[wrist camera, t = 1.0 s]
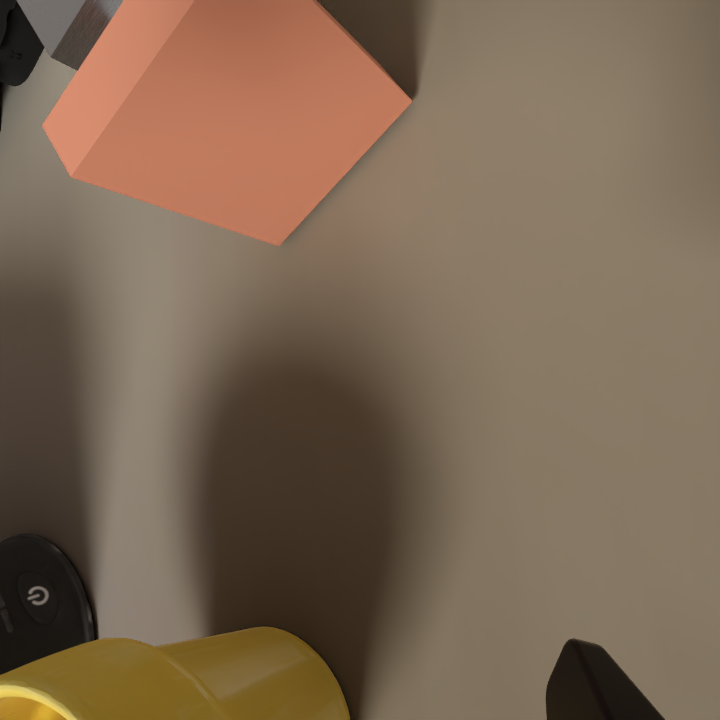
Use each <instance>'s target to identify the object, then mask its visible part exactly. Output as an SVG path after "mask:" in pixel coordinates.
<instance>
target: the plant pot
mask: <svg viewBox="0 0 720 720" xmlns="http://www.w3.org/2000/svg"><path fill="white" fill-rule="evenodd" d="M0 720H350V715H349V710H348V707H347V704H346V701H345V698H344V695H343V693H342V690H341V688H340V686H339V684H338V682H337V680H336V678H335V676H334V675H333V673H332V671H331V670H330V668H329V667H328V665H327V664H326V663H325V662H324V660H323V659H322V658H321V657H320V655H319V654H318V653H316V652H315V651H314V650H313V649H312V648H311V647H310V646H309V645H308V644H307V643H305V642H304V641H303V640H301V639H300V638H298V637H297V636H295V635H293V634H291V633H289V632H287V631H284V630H281V629H278V628H273V627H255V628H249V629H244V630H239V631H234V632H230V633H225V634H219V635H214V636H209V637H203V638H198V639H193V640H187V641H182V642H176V643H171V644H165V645H160V646H151V645H149V644H146V643H143V642H141V641H136V640H132V639H127V638H105V639H98V640H94V641H91V642H87V643H84V644H81V645H78V646H75V647H72V648H69V649H66V650H63V651H60V652H57V653H55V654H52V655H49V656H47V657H44V658H41V659H39V660H36V661H33V662H31V663H28V664H26V665H24V666H21V667H19V668H16V669H14V670H12V671H9V672H7V673H4V674H2V675H0Z"/></svg>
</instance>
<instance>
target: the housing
mask: <svg viewBox="0 0 720 720" xmlns="http://www.w3.org/2000/svg"><path fill="white" fill-rule="evenodd" d="M123 1H124V0H17V2H18V4H19V5H20V7H21V9H22V10H23V12H24V14H25V15H26V17H27V19H28V20H29V22H30V24H31V25H32V27H33V29H34V30H35V32H36V34H37V35H38V37H39V39H40V40H41V42H42V44H43V45H44V47H45V49H46V50H47V52H48V54H49V55H50V57H51V58H53V59H55V60H57V61H59V62H61V63H63V64H65V65H67V66H69V67H71V68H73V69H75V70H77V71H78V70H79V68H80V67H81V65H82V63H83V62H84V60H85V59H86V57H87V56H88V54H89V53H90V51H91V50H92V48H93V47H94V45H95V44H96V42H97V40H98V39H99V37H100V36H101V34H102V33H103V31H104V30H105V28H106V27H107V25H108V24H109V22H110V21H111V19H112V17H113V16H114V14H115V13H116V11H117V10H118V8H119V7H120V5H121V4H122V2H123Z"/></svg>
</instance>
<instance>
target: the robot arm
mask: <svg viewBox="0 0 720 720" xmlns="http://www.w3.org/2000/svg"><path fill="white" fill-rule="evenodd" d="M546 713H547V720H665V719H664V718H663V717H662V715H661V714H660V713H659V712H658V711H657V710H656V708H655V707H654V706H653V705H652V704H651V703H650V702H649V700H648V699H647V698H646V697H645V696H644V695H643V693H642V692H641V691H640V690H639V689H638V688H637V686H636V685H635V684H634V683H633V682H632V681H631V680H630V678H629V677H628V676H627V675H626V674H625V673H624V671H623V670H622V669H621V668H620V667H619V666H618V664H617V663H616V662H615V661H614V660H613V659H612V658H611V656H610V655H609V654H608V653H607V652H606V651H605V650H604V649H603V648H602V647H601V646H600V645H597V644H594V643H590V642H586V641H582V640H578V639H570V640H568V641H567V642H566V643H565V645H564V647H563V649H562V651H561V654H560V656H559V658H558V660H557V663H556V665H555V667H554V669H553V672H552V674H551V676H550V679H549V681H548V685H547V690H546Z"/></svg>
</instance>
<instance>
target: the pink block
mask: <svg viewBox="0 0 720 720" xmlns="http://www.w3.org/2000/svg"><path fill="white" fill-rule="evenodd" d="M412 102H413V101H412V100H411V99H410V98H409V97H408V96H407V94H406V93H405V92H404V91H403V90H402V89H401V88H400V87H399V85H398V84H397V83H396V82H395V81H394V80H393V79H392V78H391V76H390V75H389V74H388V73H387V72H386V71H385V70H384V69H383V67H382V66H381V65H380V64H379V63H378V62H377V61H376V60H375V59H374V58H373V57H372V56H371V55H370V54H369V53H368V52H367V51H366V50H365V49H364V48H363V47H362V46H361V45H360V44H359V43H358V42H357V41H356V40H355V39H354V38H353V37H352V36H351V35H350V34H349V33H348V32H347V31H346V30H345V29H344V28H343V27H342V26H341V25H340V24H339V23H338V22H337V21H336V20H335V19H334V18H333V17H332V16H331V15H330V14H329V12H328V11H327V10H326V9H325V8H324V7H323V6H322V5H321V4H320V3H319V2H318V1H317V0H124V1H123V2H122V4H121V5H120V7H119V8H118V10H117V11H116V13H115V14H114V16H113V17H112V19H111V21H110V22H109V24H108V25H107V27H106V28H105V30H104V31H103V33H102V34H101V36H100V37H99V39H98V40H97V42H96V44H95V45H94V47H93V48H92V50H91V51H90V53H89V54H88V56H87V57H86V59H85V60H84V62H83V63H82V65H81V67H80V68H79V70H78V71H77V73H76V74H75V76H74V77H73V79H72V80H71V82H70V83H69V85H68V86H67V88H66V90H65V91H64V93H63V94H62V96H61V97H60V99H59V100H58V102H57V103H56V105H55V106H54V108H53V109H52V111H51V112H50V114H49V116H48V117H47V119H46V120H45V122H44V123H43V125H42V127H43V128H44V130H45V132H46V134H47V135H48V137H49V139H50V141H51V143H52V144H53V146H54V148H55V150H56V152H57V153H58V155H59V157H60V159H61V161H62V162H63V164H64V166H65V168H66V170H67V171H68V173H69V175H70V177H72V178H75V179H78V180H81V181H84V182H87V183H90V184H93V185H96V186H99V187H102V188H105V189H108V190H111V191H114V192H117V193H120V194H123V195H126V196H129V197H132V198H135V199H138V200H141V201H144V202H147V203H150V204H153V205H156V206H159V207H162V208H165V209H168V210H171V211H174V212H177V213H181V214H184V215H187V216H190V217H193V218H196V219H199V220H202V221H205V222H208V223H211V224H214V225H217V226H220V227H223V228H226V229H229V230H232V231H235V232H238V233H241V234H244V235H247V236H250V237H253V238H256V239H259V240H262V241H265V242H268V243H271V244H274V245H277V246H280V245H281V243H282V242H283V241H284V240H285V239H286V238H287V237H288V236H289V235H290V234H291V233H292V232H293V230H294V229H295V228H296V227H297V226H298V225H299V224H300V223H301V222H302V221H303V220H304V219H305V217H306V216H307V215H308V214H309V213H310V212H311V211H312V210H313V209H314V208H315V207H316V206H317V204H318V203H319V202H320V201H321V200H322V199H323V198H324V197H325V196H326V195H327V194H328V193H329V191H330V190H331V189H332V188H333V187H334V186H335V185H336V184H337V183H338V182H339V181H340V180H341V178H342V177H343V176H344V175H345V174H346V173H347V172H348V171H349V170H350V169H351V168H352V167H353V165H354V164H355V163H356V162H357V161H358V160H359V159H360V158H361V157H362V156H363V155H364V154H365V152H366V151H367V150H368V149H369V148H370V147H371V146H372V145H373V144H374V143H375V142H376V141H377V139H378V138H379V137H380V136H381V135H382V134H383V133H384V132H385V131H386V130H387V129H388V128H389V126H390V125H391V124H392V123H393V122H394V121H395V120H396V119H397V118H398V117H399V116H400V115H401V113H402V112H403V111H404V110H405V109H406V108H407V107H408V106H409V105H410V104H411V103H412Z"/></svg>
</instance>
